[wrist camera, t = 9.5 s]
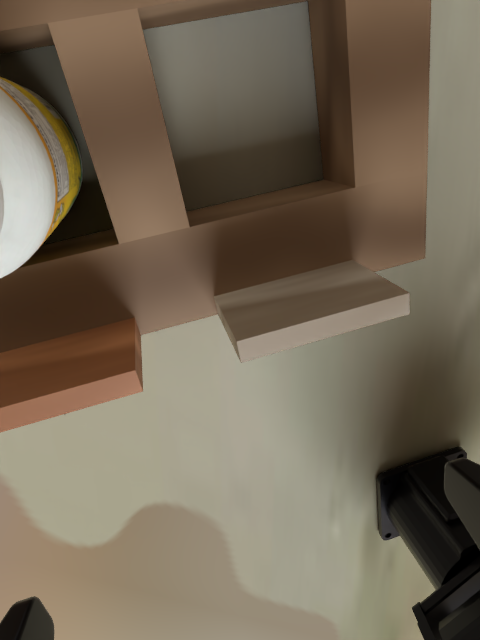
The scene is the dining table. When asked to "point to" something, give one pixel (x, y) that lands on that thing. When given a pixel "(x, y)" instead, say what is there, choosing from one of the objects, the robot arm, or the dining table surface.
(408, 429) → the dining table surface
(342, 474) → the dining table surface
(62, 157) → the supplement bottle
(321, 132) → the socket board
